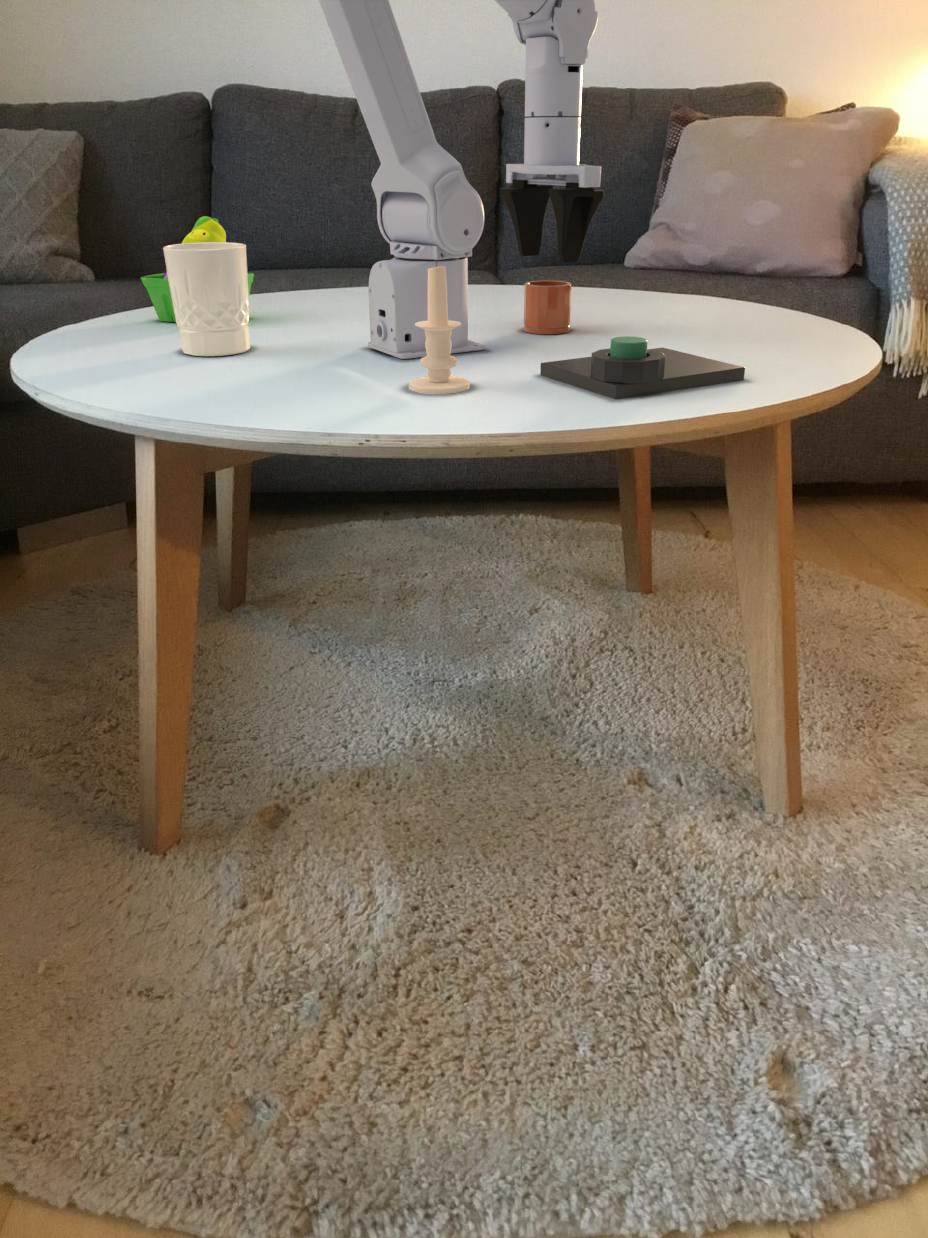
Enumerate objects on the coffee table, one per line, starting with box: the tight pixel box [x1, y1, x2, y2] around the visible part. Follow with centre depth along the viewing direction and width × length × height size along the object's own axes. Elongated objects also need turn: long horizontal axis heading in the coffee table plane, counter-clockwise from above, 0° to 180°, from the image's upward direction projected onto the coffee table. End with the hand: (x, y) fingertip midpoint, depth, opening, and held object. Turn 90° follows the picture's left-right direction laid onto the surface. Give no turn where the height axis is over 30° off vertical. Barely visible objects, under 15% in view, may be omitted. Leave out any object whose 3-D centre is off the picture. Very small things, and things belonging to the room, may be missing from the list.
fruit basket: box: [140, 215, 255, 323], centre depth 118 cm, size 11×9×11 cm
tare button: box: [609, 335, 648, 359], centre depth 83 cm, size 3×3×2 cm
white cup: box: [162, 241, 251, 357], centre depth 100 cm, size 8×8×10 cm
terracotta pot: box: [523, 280, 572, 335], centre depth 111 cm, size 5×5×5 cm
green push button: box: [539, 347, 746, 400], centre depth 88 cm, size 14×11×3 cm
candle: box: [408, 260, 471, 395], centre depth 84 cm, size 5×5×10 cm
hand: (548, 258), depth 109 cm, fingers open, 7 cm apart
